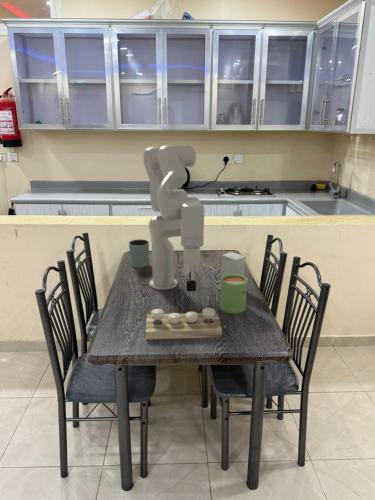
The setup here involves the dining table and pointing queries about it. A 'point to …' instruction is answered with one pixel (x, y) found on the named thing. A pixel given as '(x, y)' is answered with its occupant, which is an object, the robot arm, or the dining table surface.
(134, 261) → the teal cup
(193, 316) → the white egg
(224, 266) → the skincare box
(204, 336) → the board
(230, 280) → the mug
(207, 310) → the egg
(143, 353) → the dining table surface
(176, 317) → the white egg
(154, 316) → the off-white oval piece
